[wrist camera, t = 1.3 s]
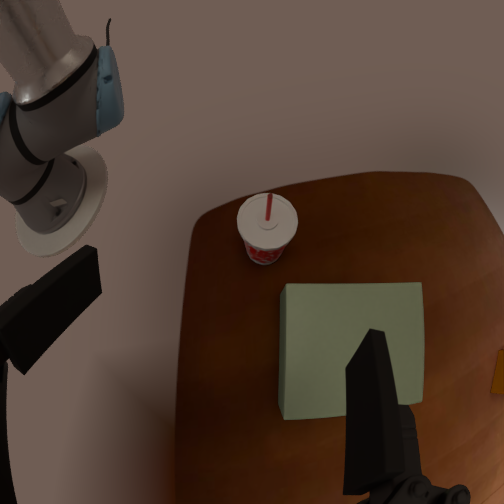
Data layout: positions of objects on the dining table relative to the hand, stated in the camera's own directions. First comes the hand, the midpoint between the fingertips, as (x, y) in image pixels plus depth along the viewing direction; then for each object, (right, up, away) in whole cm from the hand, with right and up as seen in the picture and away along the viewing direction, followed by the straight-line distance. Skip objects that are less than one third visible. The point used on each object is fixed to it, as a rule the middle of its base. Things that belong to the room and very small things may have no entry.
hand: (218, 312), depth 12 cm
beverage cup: (+3, +3, +25) cm, 25 cm away
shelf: (+13, -9, +21) cm, 26 cm away
